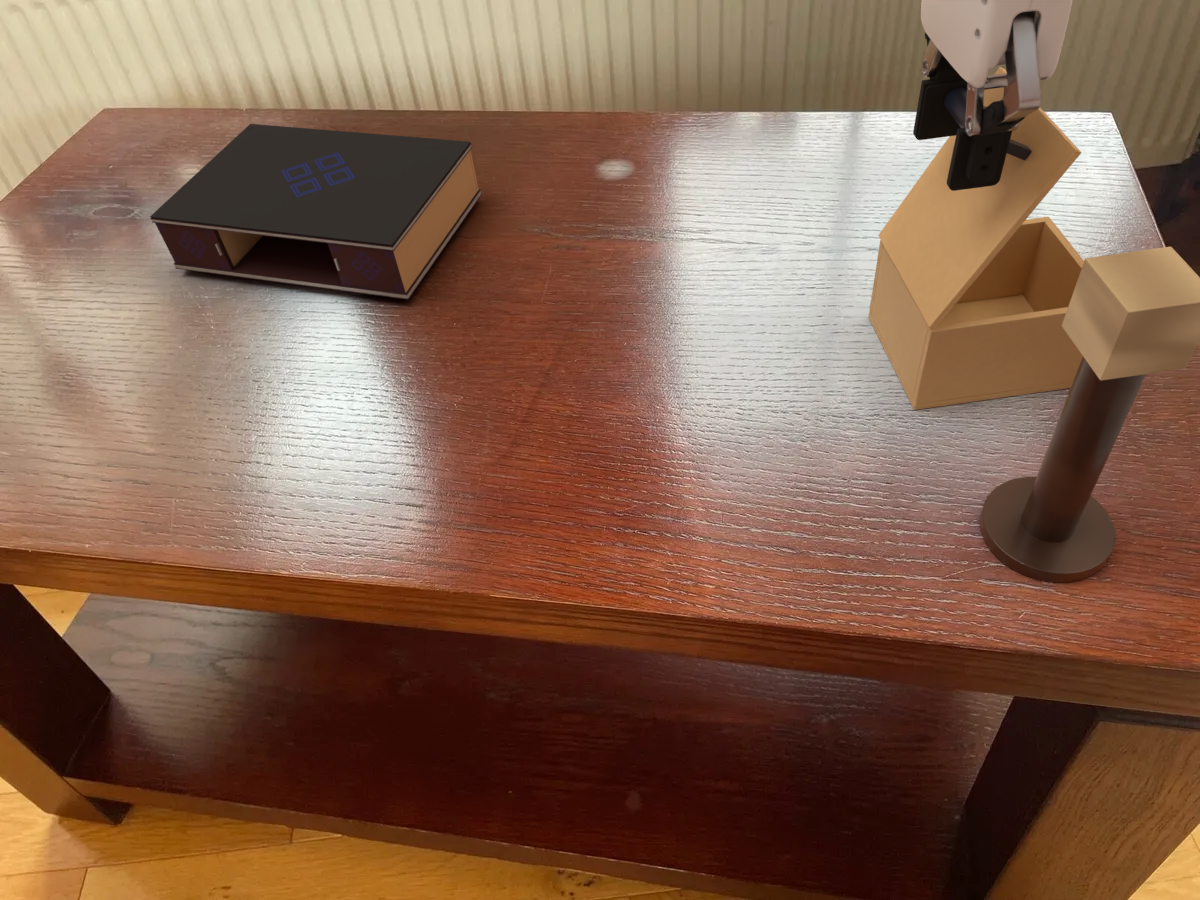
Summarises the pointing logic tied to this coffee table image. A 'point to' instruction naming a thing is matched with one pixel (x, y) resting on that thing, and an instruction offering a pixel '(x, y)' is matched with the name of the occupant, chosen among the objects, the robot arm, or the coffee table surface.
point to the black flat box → (322, 209)
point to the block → (1135, 313)
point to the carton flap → (971, 209)
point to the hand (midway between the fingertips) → (954, 157)
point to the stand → (1063, 489)
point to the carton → (986, 325)
